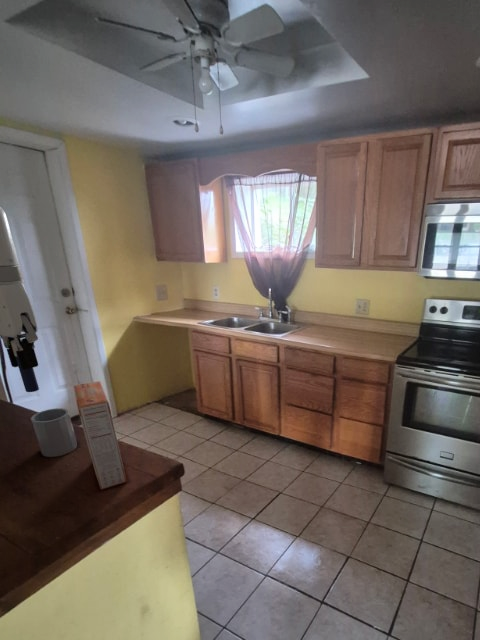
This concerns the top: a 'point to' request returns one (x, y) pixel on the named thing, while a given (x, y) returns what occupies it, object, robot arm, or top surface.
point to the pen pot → (54, 432)
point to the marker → (26, 373)
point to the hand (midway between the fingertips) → (25, 365)
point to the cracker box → (100, 434)
